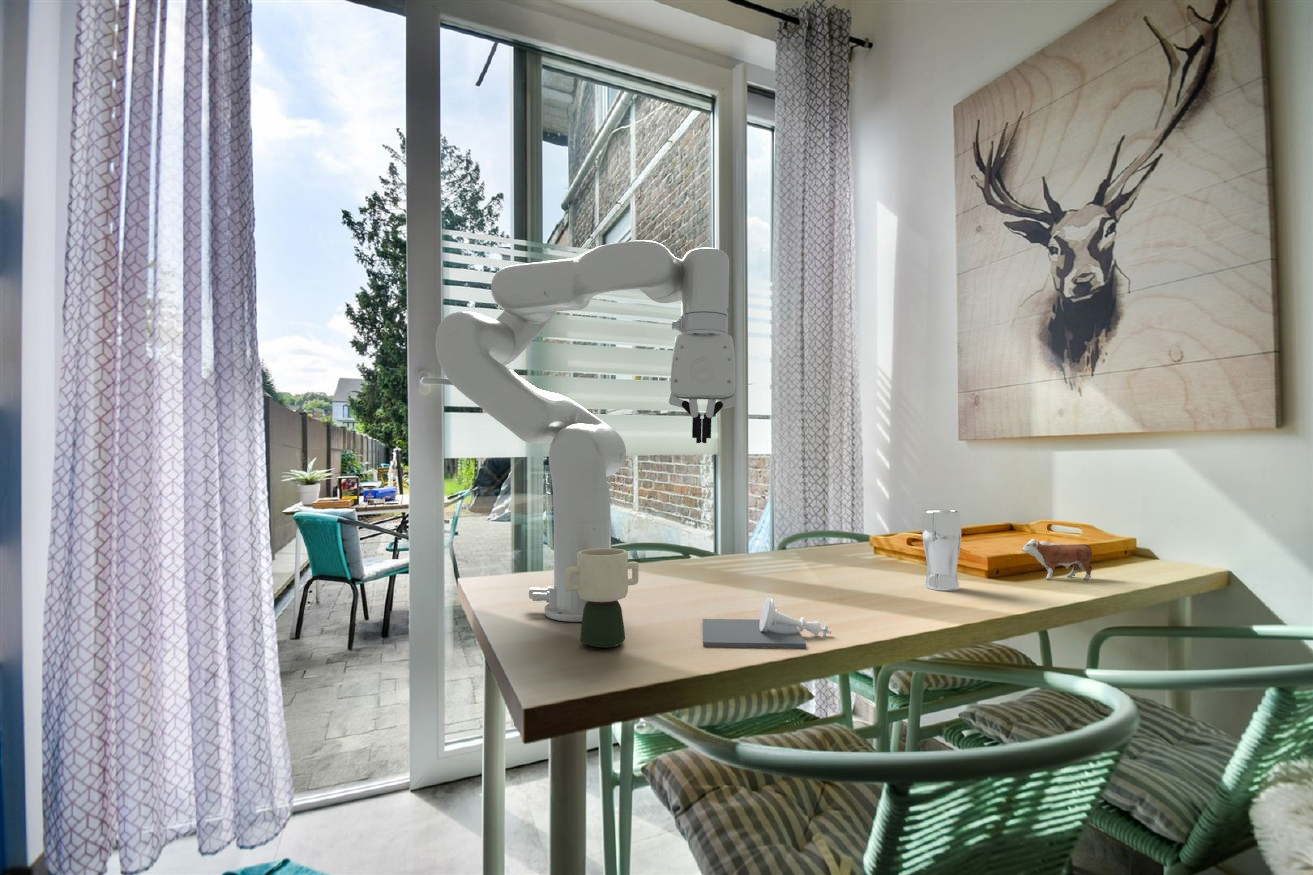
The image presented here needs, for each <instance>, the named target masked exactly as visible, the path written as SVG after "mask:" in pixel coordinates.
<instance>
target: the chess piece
mask: <svg viewBox="0 0 1313 875" xmlns="http://www.w3.org/2000/svg"><path fill="white" fill-rule="evenodd" d="M761 608H762V609H761V611H760V618H759V620H760V624H759V627H760V631H761V632H762V631H764V632H767V631H768V630H769V628H770V626H771V624H773V625H775V624H784V625H791V626H796V627H797V629H798V630H799V632H803V631H804V630H806V631H807V632H809V633H810V634H812V635H814V636H818V635H819V634H820V632H822V634H821V636H822V637H827V634H829V635H832V630H831V629H829V625H828V624H824V626H823V627H821V622H820V621H817V620H816V621H814V620H813V621H806V619H805V618H806V617H803V616H801V617H800V618H799V619H797V618H794V617H791V616H789V615H786V614H784V613H782V612H779V611H778V609H775V601H774V599H773V598H770V597H767V598H765V600H764V602H763V604H762V607H761Z"/></svg>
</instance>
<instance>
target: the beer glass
mask: <svg viewBox="0 0 1313 875" xmlns="http://www.w3.org/2000/svg"><path fill="white" fill-rule="evenodd" d="M922 513H923V514H922V523H921V524H922V526H921V527H922V528H921V534H922V542H923V550H924V554H925V555H924V556H925V560H926V566H927V571H926V572H927V573H926V578H925V588H927V589H929V590H933V591H939V592H940V591H942V592H957V591H959V590H960V589H961V588H960V583H959V578H958V564H959V556H960V551H961V544H962V522H961V515H960V511H959V510H954V509H953V510H952V509H923V510H922Z"/></svg>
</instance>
